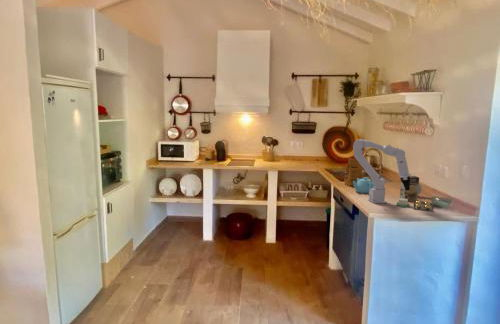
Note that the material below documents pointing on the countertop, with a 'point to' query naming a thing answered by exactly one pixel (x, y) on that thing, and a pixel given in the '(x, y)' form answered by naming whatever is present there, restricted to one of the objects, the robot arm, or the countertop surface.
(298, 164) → the countertop surface
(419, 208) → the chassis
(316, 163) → the countertop surface
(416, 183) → the coffee box
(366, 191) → the teapot
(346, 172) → the coffee package
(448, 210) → the countertop surface
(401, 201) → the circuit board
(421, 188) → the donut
